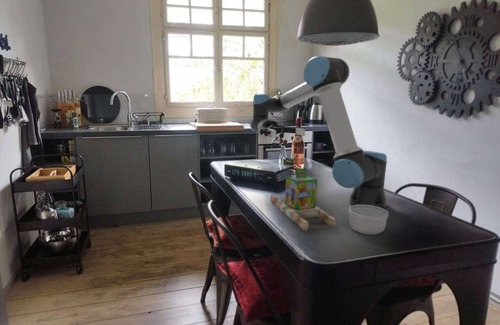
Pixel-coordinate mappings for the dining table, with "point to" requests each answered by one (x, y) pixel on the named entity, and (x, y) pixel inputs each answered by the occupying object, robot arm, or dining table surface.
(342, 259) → the dining table surface
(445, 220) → the dining table surface
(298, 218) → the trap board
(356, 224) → the ramekin
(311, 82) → the robot arm
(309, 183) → the chalk box
